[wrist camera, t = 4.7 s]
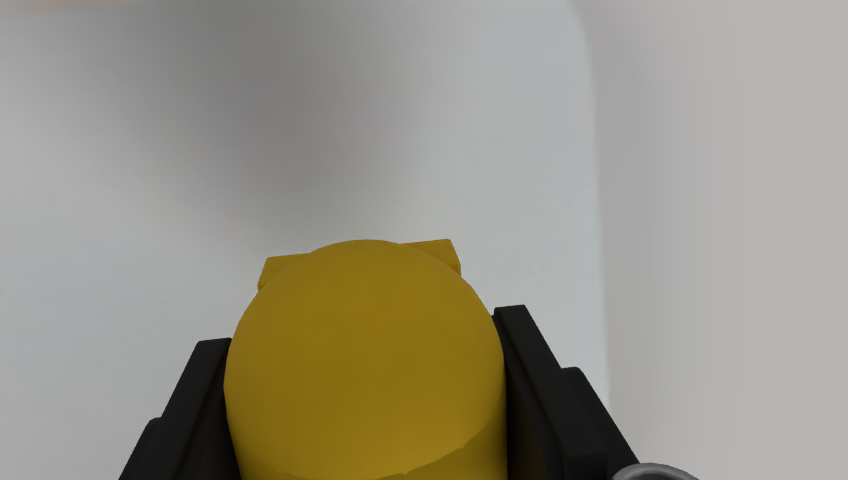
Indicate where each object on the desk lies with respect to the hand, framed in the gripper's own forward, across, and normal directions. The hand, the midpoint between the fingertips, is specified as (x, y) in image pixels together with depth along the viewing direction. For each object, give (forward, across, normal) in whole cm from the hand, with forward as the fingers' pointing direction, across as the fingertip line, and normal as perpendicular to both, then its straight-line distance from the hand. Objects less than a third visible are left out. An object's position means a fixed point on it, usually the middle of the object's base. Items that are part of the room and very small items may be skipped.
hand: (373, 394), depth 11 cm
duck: (+1, 0, 0) cm, 1 cm away
